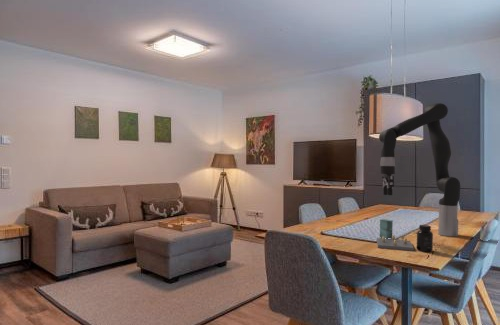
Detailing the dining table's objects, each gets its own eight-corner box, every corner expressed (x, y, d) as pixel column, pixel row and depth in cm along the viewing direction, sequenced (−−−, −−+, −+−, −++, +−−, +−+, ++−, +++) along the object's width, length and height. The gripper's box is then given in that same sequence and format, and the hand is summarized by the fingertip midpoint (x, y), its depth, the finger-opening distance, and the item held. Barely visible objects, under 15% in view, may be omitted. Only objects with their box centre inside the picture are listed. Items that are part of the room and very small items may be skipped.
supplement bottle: (413, 248, 167) (414, 224, 166) (427, 248, 167) (427, 224, 167) (421, 252, 160) (422, 227, 160) (435, 252, 160) (436, 227, 160)
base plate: (409, 243, 176) (410, 235, 176) (413, 251, 163) (413, 242, 162) (376, 240, 181) (376, 233, 181) (377, 247, 168) (377, 239, 167)
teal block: (385, 237, 190) (385, 219, 190) (392, 238, 186) (392, 220, 186) (379, 237, 188) (380, 219, 188) (386, 239, 184) (386, 221, 184)
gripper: (398, 165, 183) (399, 195, 182) (390, 166, 197) (390, 194, 196) (384, 164, 184) (384, 195, 182) (377, 166, 198) (377, 194, 197)
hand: (387, 195), depth 189 cm, fingers open, 8 cm apart
